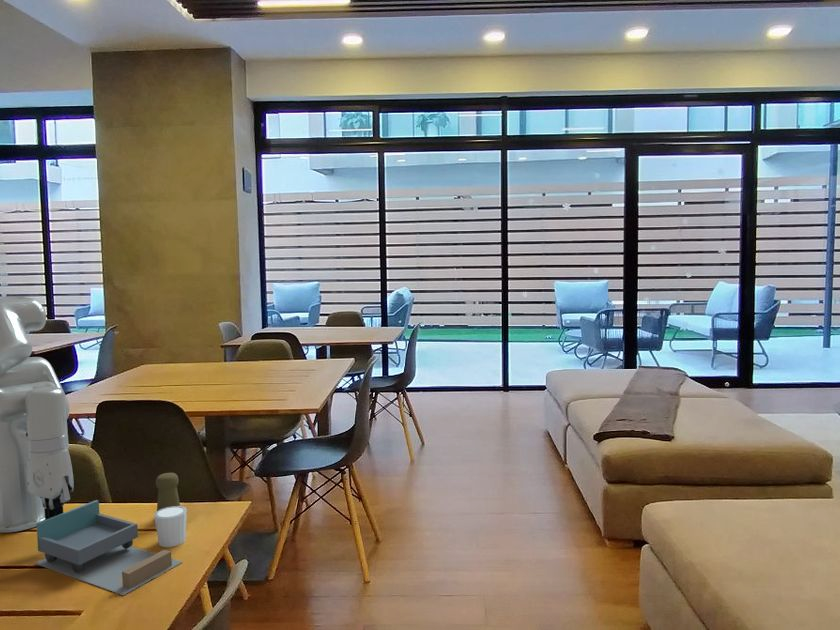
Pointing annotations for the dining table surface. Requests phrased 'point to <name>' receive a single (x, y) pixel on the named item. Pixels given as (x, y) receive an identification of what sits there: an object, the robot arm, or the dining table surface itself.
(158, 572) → the track
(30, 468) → the robot arm
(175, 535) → the white tapered cup
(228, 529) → the dining table surface
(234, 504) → the dining table surface
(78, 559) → the cart
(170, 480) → the olive pepper shaker
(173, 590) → the dining table surface
